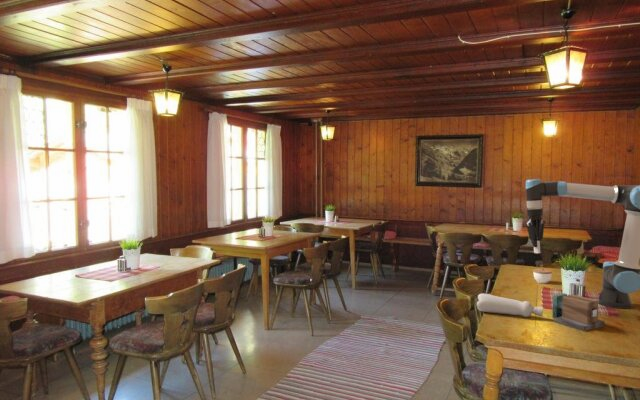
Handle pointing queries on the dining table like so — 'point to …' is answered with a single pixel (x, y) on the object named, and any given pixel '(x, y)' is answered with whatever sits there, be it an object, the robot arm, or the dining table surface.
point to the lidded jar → (542, 275)
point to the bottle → (506, 306)
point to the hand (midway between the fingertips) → (537, 252)
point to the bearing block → (579, 313)
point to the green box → (559, 305)
